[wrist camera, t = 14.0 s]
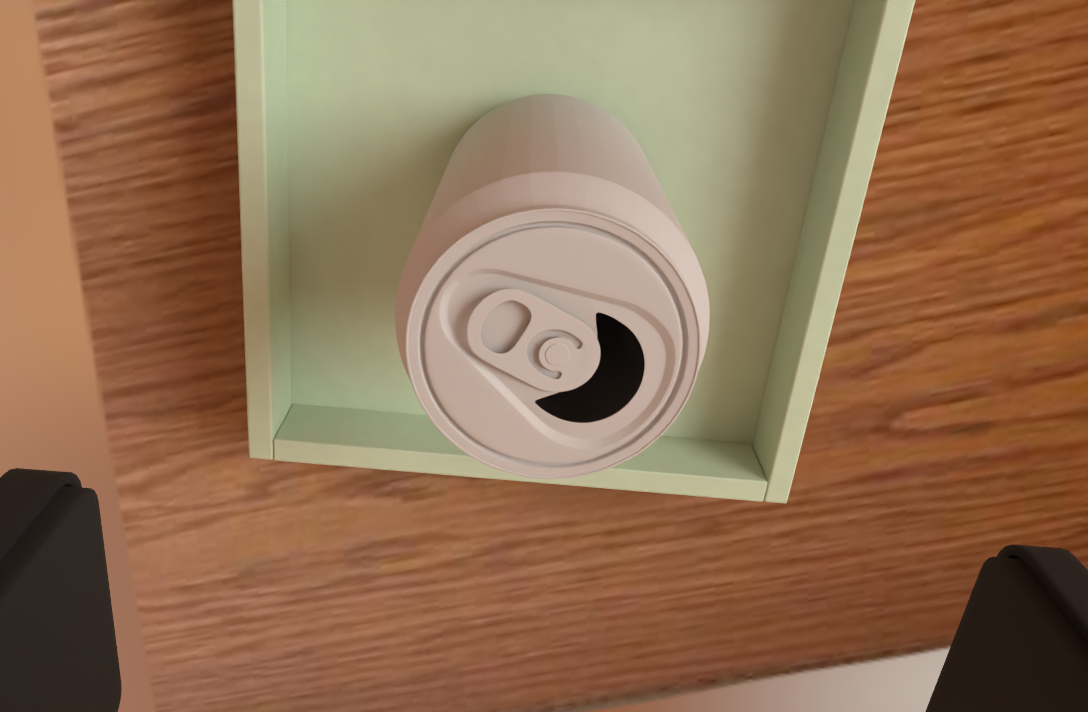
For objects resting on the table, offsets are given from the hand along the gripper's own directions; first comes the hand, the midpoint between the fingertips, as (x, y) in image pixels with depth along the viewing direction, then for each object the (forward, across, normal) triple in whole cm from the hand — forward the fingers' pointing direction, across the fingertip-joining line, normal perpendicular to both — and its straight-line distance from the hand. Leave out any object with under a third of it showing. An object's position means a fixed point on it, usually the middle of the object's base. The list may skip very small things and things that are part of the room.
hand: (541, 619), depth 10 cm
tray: (+20, -1, +1) cm, 20 cm away
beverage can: (+20, -1, +1) cm, 20 cm away
